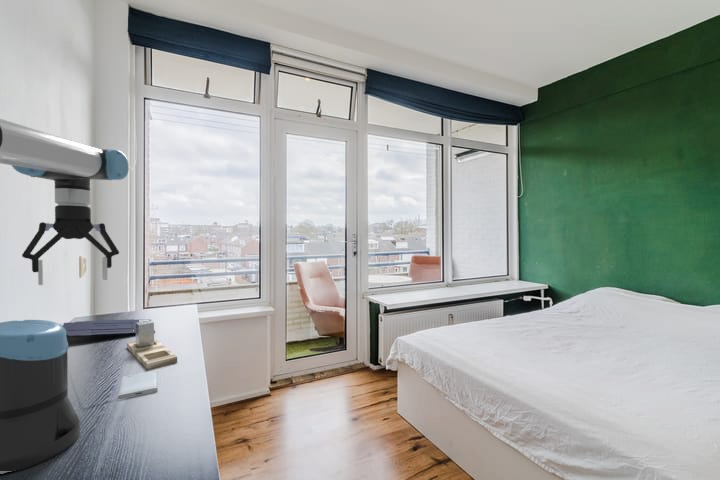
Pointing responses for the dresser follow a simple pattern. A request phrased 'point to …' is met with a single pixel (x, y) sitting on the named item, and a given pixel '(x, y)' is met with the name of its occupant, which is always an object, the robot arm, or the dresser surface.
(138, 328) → the post
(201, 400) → the dresser surface
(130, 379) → the hard drive
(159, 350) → the rail
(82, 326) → the dark grey flat slab
